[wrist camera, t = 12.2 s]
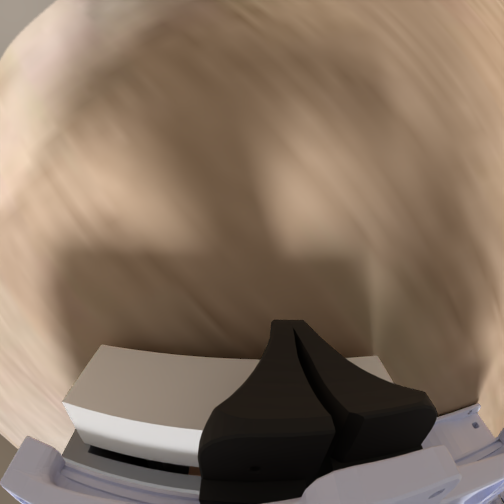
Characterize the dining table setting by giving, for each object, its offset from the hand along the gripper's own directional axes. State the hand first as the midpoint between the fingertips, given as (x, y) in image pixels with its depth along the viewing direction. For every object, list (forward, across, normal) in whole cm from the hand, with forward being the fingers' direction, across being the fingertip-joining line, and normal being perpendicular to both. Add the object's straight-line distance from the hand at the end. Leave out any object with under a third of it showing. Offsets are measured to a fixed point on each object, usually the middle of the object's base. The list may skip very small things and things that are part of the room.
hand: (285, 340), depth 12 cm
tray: (+1, +2, +9) cm, 9 cm away
